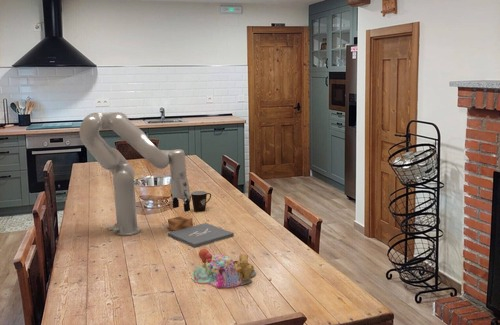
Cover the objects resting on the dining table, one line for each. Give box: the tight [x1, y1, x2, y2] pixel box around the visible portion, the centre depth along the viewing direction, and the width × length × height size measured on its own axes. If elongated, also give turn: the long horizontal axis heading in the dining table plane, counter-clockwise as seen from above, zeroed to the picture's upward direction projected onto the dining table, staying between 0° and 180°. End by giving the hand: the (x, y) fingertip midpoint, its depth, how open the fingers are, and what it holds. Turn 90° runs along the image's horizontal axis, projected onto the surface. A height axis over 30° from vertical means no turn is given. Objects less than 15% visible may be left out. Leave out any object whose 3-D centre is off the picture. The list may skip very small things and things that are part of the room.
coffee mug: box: [190, 190, 212, 213], centre depth 288 cm, size 12×9×10 cm
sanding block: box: [167, 214, 194, 232], centre depth 259 cm, size 10×6×5 cm, turn 127°
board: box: [167, 222, 235, 248], centre depth 246 cm, size 22×22×2 cm
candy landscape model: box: [190, 248, 257, 289], centre depth 200 cm, size 25×24×9 cm
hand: (181, 209), depth 258 cm, fingers open, 9 cm apart
